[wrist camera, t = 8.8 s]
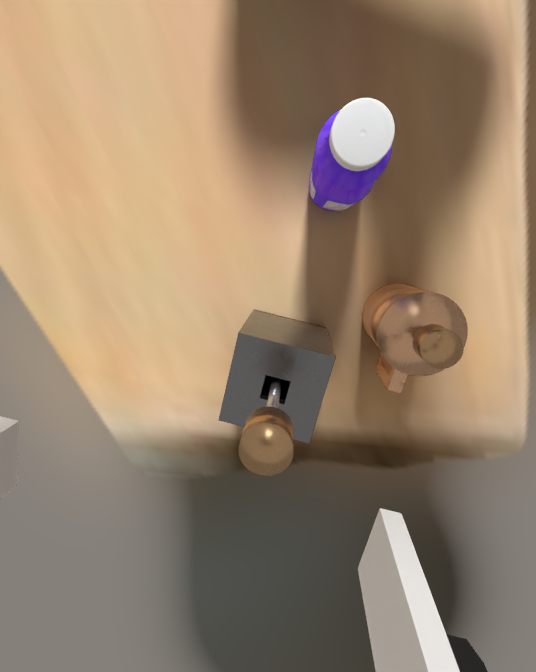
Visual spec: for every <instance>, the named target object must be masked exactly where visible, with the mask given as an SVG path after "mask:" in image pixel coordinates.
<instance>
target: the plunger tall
mask: <svg viewBox="0 0 536 672" xmlns="http://www.w3.org/2000/svg"><path fill="white" fill-rule="evenodd" d="M289 383H290V381H287V380H283V379H279V378H275V377H272V376H268V375H265V379H264V383H263V386H265V387H267V388H269V389H270V390H269V396H268V401H267V406H266V407H261V408H258V409H256V410H254V411H253V412H252V413H251V414H250V415H249V416H248V418H247V420H246V423H245V426H244V429H243V433H242V436H241V440H240V443H239V448H238V452H239V457H240V460H241V462H242V463H243V465H244V466H245V467H246V468H247V469H248V470H250V471H251V472H253V473H255V474H258V475H262V476H273V475H277V474H279V473H281V472H283V471H284V470H285V469H286V468H287V467H288V466H289V465H290V463H291V461H292V459H293V444H294V427H293V423H292V420H291V419H290V417H289V416H288V415H287V414H286V413H285V412H284V411H282V410H281V409H278V407H279V398H280V390H287V389H288V386H289Z"/></svg>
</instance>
